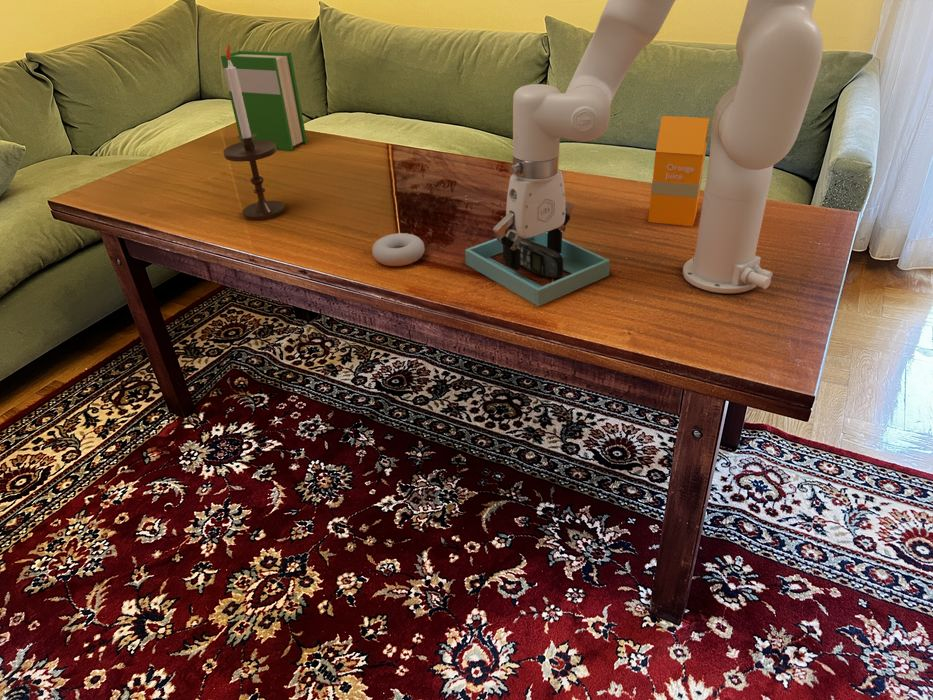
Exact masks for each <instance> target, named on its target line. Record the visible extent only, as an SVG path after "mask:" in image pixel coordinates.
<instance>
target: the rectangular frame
mask: <svg viewBox="0 0 933 700" xmlns="http://www.w3.org/2000/svg"><path fill="white" fill-rule="evenodd" d="M514 235H515V234H514ZM547 235H548V232H546V233H543V234H540V235H537V236H535V237H532V238H528V240H530V241H533V242H535V243H538V244H540V245H543V246H546V247H547ZM515 236H516V235H515ZM500 254H503V245H502V243H500V242H499V241H498V240H497V237H496V238H493V239H490V240H487V241H485V242H482V243H480V244H476V245H474V246H471V247H469V248H466V249H465V250H464V256H465V265H466V266H468V267H470V268H472V269H473V270H475V271H476V272H478V273H480V274H482V275H484V276H485V277H487V278H488V279H490V280H492V281H494V282H495V283H497V284H499V285H500V286H502V287H504V288H505V289H507V290H509V291H511V292H513V293H514V294H515V295H518V296H519V297H521V298H523V299H524V300H527V302H530V303H532V304H533V305H535V306H537V307H540V306H543V305H545V304H548V303H550V302H552V301H555V300H557V299H559V298H561V297H563V296H565V295H568V294H570V293H572V292H574V291H576V290H579V289H581V288H584V287H587V286H588V285H590V284H592V283H595V282H598V281H600V280H602V279H604V278H606V277H609V276H610V267H611V259H608V258H607V257H604V256H602V255H600V254H598V253H595V252H593V251H590V250H589V249H587V248H585V247H582V246H580V245H578V244H575V243H574V242H572V241H569V240H567V239H565V238H563V237H562V250H561V253H560V255H561V256H562V258H563V272H566V273H567V274H568V275H565V276H566V277H564V278H559V279H556V280H554V281H552V282H549V283H547V284H545V285H541V284H539V283H537V282H535V281H533V280H531V279H529V278H528V277H526V276H524V275H522V274H521V273H519V272H517V271H516V270H514V269H512V268H511V267H509V266H507V265H505V264H502V263H500V262H499V261H497V260H495V259H493V258H491V257H494V256H496V255H500Z"/></svg>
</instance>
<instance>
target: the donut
mask: <svg viewBox="0 0 933 700" xmlns="http://www.w3.org/2000/svg"><path fill="white" fill-rule="evenodd" d="M425 249H426V248H425V243H424V241H423V240H422V239H421V238H420V237H419V236H417V235H415V234H411V233H405V232H397V233H391V234H387V235H385V236H381V237H380V238H379V239H377V240H375V242H374V244H373V245H372V249H371V254H372V257H373V258H374V259H375V261H376V262H378V263H379V264H380V265H381V264H382V265H384V266H387V267H403V266H408V265H411V264H413V263H416V262H417V261H419V260H420V259H421V258H422V257H423V255H424V253H425Z"/></svg>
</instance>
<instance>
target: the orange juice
mask: <svg viewBox="0 0 933 700" xmlns="http://www.w3.org/2000/svg"><path fill="white" fill-rule="evenodd" d="M659 124H660V125H659V131H658V136H657V142H656V150H655V155H654V163H653V165H654V166H653V172H652V173H653V174H652V180H651V190H650V201H649V210H648V218H647V219H648V220H647V222H648V223H654V224H655V223H656V224H662V225H663V224H665V225H673V226H685V227H694V224H695V219H696V216H697V213H698V207H699V201H700V193H701V186H702V181H703V173H704V167H705V162H706V161H705V160H706V154H707V153H706V152H707V146H708V135H709V134H708V133H709V126H710V125H709V124H710V117H695V116H694V117H693V116H692V117H691V116H675V115H674V116H673V115H671V116H670V115H661V119H660V123H659Z"/></svg>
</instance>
